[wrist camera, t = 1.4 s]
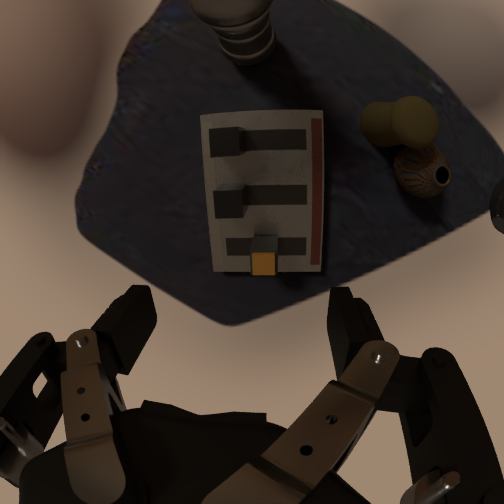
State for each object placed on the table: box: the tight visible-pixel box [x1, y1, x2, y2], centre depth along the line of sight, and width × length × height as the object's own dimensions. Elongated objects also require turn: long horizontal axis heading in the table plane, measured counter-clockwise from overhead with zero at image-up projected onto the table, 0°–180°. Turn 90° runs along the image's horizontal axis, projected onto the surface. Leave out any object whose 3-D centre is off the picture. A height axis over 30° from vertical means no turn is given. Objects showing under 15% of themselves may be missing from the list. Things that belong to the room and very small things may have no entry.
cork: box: [360, 96, 439, 149], centre depth 24 cm, size 6×6×11 cm
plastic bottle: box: [189, 0, 277, 66], centre depth 18 cm, size 6×7×20 cm
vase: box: [393, 144, 451, 198], centre depth 27 cm, size 7×7×9 cm
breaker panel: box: [200, 110, 324, 272], centre depth 31 cm, size 14×20×6 cm
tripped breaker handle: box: [250, 236, 278, 275], centre depth 32 cm, size 3×3×5 cm
